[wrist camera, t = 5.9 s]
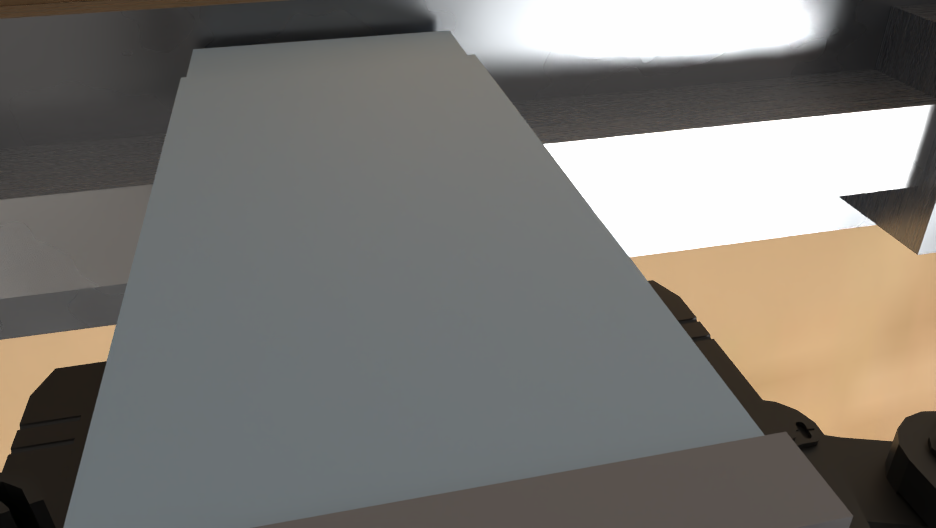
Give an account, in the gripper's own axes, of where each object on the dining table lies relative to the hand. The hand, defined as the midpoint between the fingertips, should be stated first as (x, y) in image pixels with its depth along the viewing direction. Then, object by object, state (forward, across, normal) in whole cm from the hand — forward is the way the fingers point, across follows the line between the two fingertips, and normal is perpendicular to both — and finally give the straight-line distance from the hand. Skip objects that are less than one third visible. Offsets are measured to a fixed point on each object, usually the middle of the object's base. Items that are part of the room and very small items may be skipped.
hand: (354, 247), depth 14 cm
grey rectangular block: (+3, 0, 0) cm, 3 cm away
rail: (+5, +2, 0) cm, 5 cm away
